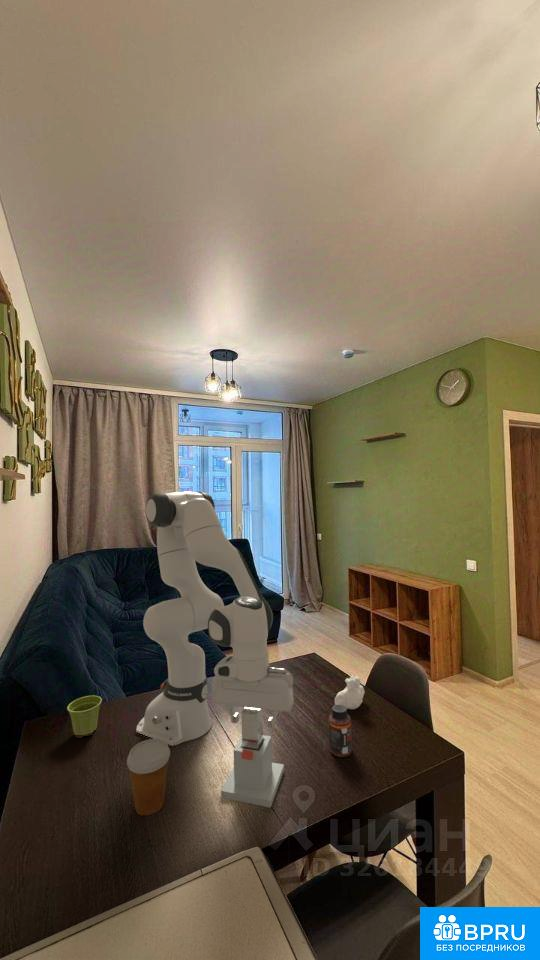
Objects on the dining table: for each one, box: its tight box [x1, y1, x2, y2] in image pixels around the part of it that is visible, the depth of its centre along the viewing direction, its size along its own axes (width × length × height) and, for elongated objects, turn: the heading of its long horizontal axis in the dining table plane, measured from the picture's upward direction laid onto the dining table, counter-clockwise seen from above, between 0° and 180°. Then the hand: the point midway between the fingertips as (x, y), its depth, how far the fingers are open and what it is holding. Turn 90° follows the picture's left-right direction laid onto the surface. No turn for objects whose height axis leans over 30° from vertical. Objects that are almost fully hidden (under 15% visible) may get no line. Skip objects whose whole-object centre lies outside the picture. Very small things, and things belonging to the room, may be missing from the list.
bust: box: [334, 674, 365, 710], centre depth 126 cm, size 12×8×11 cm
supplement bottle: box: [328, 704, 353, 758], centre depth 105 cm, size 6×6×11 cm
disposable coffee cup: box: [126, 738, 171, 816], centre depth 88 cm, size 10×10×12 cm
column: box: [240, 707, 264, 751], centre depth 94 cm, size 4×4×16 cm
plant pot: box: [66, 695, 103, 735], centre depth 116 cm, size 9×9×9 cm
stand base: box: [220, 734, 285, 808], centre depth 94 cm, size 12×12×10 cm
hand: (253, 724), depth 94 cm, fingers open, 8 cm apart
